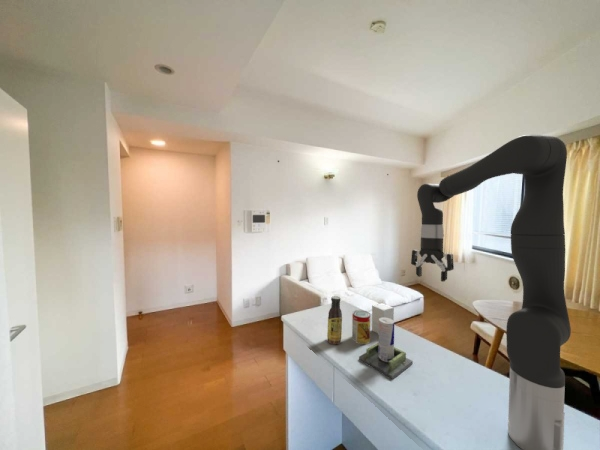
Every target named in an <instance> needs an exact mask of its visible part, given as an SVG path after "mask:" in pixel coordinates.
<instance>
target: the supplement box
mask: <svg viewBox="0 0 600 450" xmlns="http://www.w3.org/2000/svg"><path fill="white" fill-rule="evenodd" d="M394 310H395V309H394V306H393V307H392V306H390V305H388V304H386V303H384V302H382V303H378V304H377V303H376V304H373V305H372V306H371V331H372V332H374V333H376V334H377V335H379V318H382V317H385V318H390V319H392V320H393V321H394V322H395V318H394V317H395V312H394Z"/></svg>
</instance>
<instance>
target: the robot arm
mask: <svg viewBox="0 0 600 450" xmlns="http://www.w3.org/2000/svg"><path fill="white" fill-rule="evenodd" d="M567 159H568V149H567V145H566V143H565V142H564V141H563V140H561V138H558V137H555V136H551V135H542V134H524V135H521V136H517V137H516V138H513V139H511V140H510V141H508V142H506V143H505V144H503V145H502V146H500V147H497V149H495V150H494V151H491V153H489V154H488V155H486V156H484V157H483V158H481V159H480V160H478V161H477V162H475V163H472V164H471V165H470V166H467V167H466V168H462V169H461V170H459V171H457V172H454V173H452V174H450V175H448V176H446V177H444V178H442V179H441V180H440V181H439V183H423V184H422V185H420V186H419V188H418V189H417V194H416V197H417V202H418V206H419V209H420V212H421V225H420V250H418V249H412V251H411V259H410V261H411V262H410V263H411V266H414V267H415V275H416V276H417V277H419V278H420V277H422V274H423V272H422V270H423V267H422V265H424V264H425V263H429V264H433V265H435V264H436V265H437V267H439V268H440V270H441V272H440V281H441V282H446V280H448V272H451V271H453V270H454V269H455V268H454V254H453V253H444V237H445V235H444V212H443V210H441V209H439V208H436V206H435V203H436V204H438V203H439V204H440V203H443V202H447V201H448V200H450V199H451V198H453V197H455V196H457V195H460V194H464V193H467V192H469V191H471V190H473V189H475V188H477V187H478V186H479V185H481V184H482V183H483V182H485V181H487V180H490V179H493V178H496V177H501V176H505V175H511V174H516V175H523V176H524V187H525V188H524V197H523V200H522V202H521V205H520V207H519V208H518V210H517V213H516V214H515V216H514V218H513V220H512V223H511V226H510V250H511V256H512V259H513V263H514V265H515V266H516V269H517V271H518V273H519V276H520V278H521V279H520V280H521V282H522V304H521V309H519V310H515V311H514V312H512V313H511V314H510V315H509V316H508V319H507V322H506V355H507V358H508V359H509V387H508V421H507V433H508V436H509V437H510V439H511V440H512V442H513V443H514V444H515V445H516V446H517V447H519V448H520V449H521V450H564V442H565V441H564V440H565V439H564V437H565V435H564V434H565V388H566V387H565V386H566V375H565V371H564V370H563V369H562V368H561V348H562V346H563V345H564V344H566V343H567V342H568V341H569V340H570V337H571V335H572V328H571V323H570V317H569V313H568V307H567V302H566V295H565V279H566V278H565V277H566V234H565V232H566V231H565V222H564V220H565V219H564V218H565V216H564V215H565V214H564V211H565V210H564V187H565V186H564V185H565V176H566V170H567V169H566V168H567ZM419 255H420V257H421V258H420V259H419V260H418V257H419ZM444 258H445V260H446V264H445V262H444V260H443V259H444Z"/></svg>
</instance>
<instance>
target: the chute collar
mask: <svg viewBox="0 0 600 450" xmlns="http://www.w3.org/2000/svg"><path fill="white" fill-rule="evenodd" d="M365 351H366V352H365V353H363V354H361V355H359V356H358V360H359V361H361V363H364V364H366V365H367V366H369V367H370V368H373V369H374V370H376V371H377V372H378V373H380V374H382V375H384V376H385V377H387V378H388V379H390V380H394V379H396V378H397V377H398V376H399V375H401V374H402V373H403V372H405V371H406V370H407V369H409V368H410V367H411V366H412V365H413V363H414V361H413V360H412V359H410V358H407V353H406V352H405V351H403V350H401V349H399V348H397V347H395V346H394V358H393V359H392V360H390V361H389V362H385V361H382V360H381V359H380V358H379V357H378V342H377V343H375V344H373V345H371V346H370V347H368V348H366V350H365Z"/></svg>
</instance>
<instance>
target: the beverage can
mask: <svg viewBox="0 0 600 450" xmlns="http://www.w3.org/2000/svg"><path fill="white" fill-rule="evenodd" d="M377 341H378V342H377V343H378V357H379V358H380V359H381V360H382V361H385V362H389V361H390V360H392V359H393V358H394V347H395V320H394V321H393V320H392V319H390V318H385V317H382V318H379V334H378V340H377Z"/></svg>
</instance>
